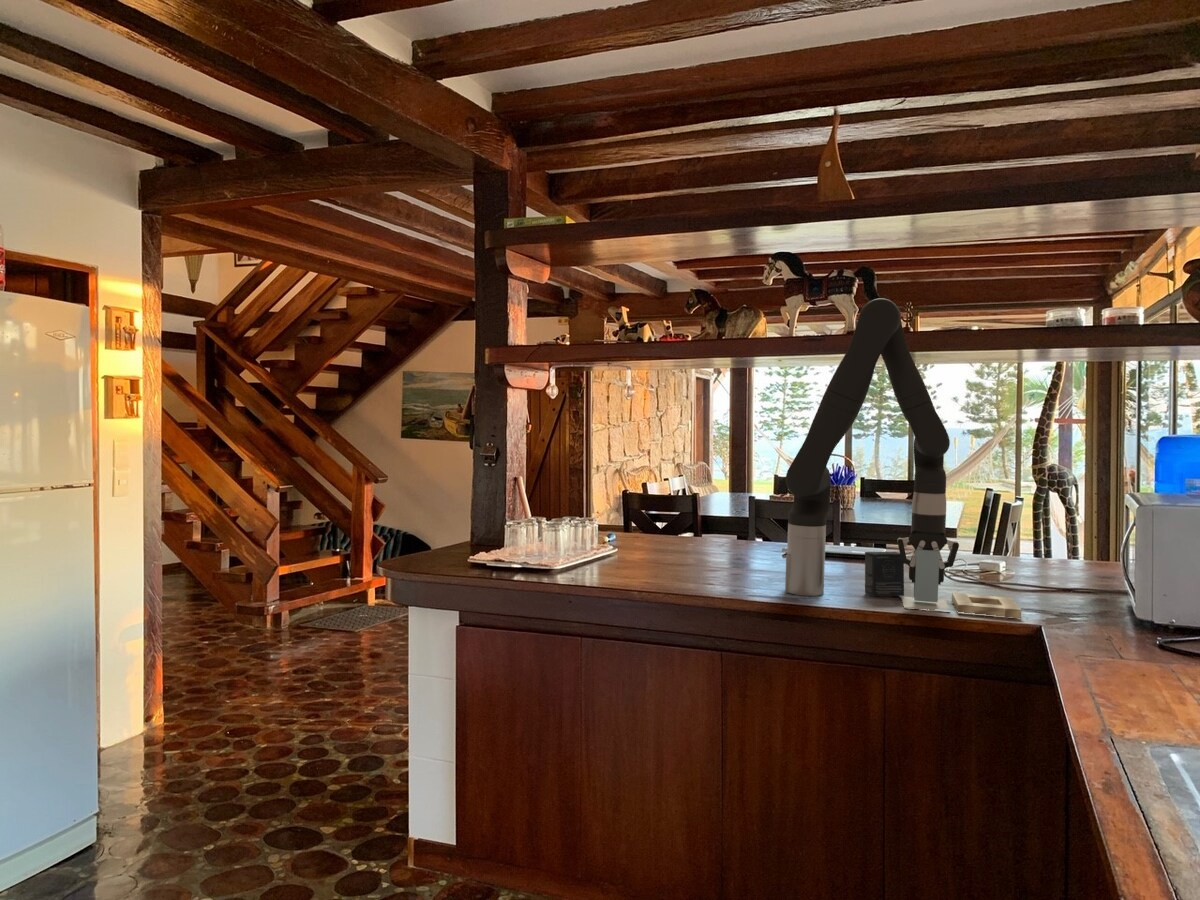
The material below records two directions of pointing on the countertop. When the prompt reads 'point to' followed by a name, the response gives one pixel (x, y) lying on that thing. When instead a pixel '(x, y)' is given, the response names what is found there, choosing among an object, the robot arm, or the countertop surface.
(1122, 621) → the countertop surface
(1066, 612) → the countertop surface
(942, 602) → the mat
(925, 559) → the block
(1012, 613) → the pocket board
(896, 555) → the box
